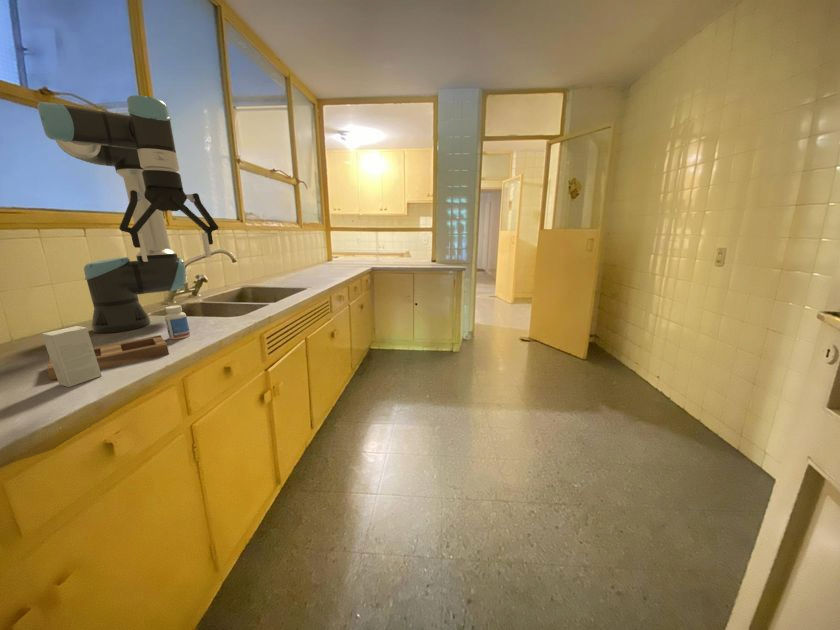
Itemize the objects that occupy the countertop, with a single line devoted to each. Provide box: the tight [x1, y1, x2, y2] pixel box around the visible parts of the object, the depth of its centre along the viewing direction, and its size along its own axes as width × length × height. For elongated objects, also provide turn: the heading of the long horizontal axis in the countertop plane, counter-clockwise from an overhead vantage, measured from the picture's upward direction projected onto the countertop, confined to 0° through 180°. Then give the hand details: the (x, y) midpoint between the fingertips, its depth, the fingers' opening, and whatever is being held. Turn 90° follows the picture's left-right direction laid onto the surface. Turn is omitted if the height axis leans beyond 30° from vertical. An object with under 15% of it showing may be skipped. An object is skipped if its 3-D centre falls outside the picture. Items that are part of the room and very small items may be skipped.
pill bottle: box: [164, 304, 191, 340], centre depth 103 cm, size 6×5×10 cm
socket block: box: [46, 335, 170, 381], centre depth 86 cm, size 11×22×3 cm, turn 134°
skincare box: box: [41, 325, 102, 388], centre depth 74 cm, size 6×4×12 cm
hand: (178, 259), depth 86 cm, fingers open, 13 cm apart
